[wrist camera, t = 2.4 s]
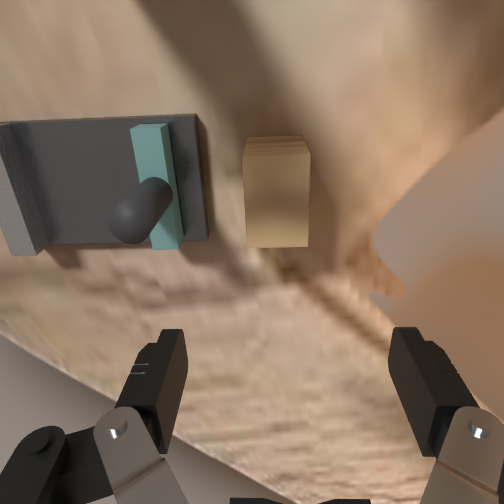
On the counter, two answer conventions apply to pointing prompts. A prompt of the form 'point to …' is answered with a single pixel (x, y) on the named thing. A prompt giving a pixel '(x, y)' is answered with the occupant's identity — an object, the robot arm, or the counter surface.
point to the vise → (86, 179)
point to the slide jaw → (150, 193)
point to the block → (276, 191)
